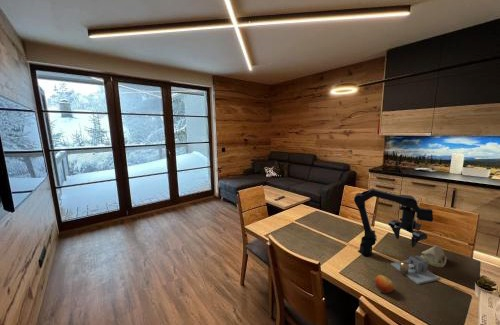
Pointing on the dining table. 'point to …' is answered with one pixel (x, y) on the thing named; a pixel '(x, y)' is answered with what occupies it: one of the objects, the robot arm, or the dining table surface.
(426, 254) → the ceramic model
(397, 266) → the barrel bolt latch
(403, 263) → the metal knob rod
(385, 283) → the fruit
